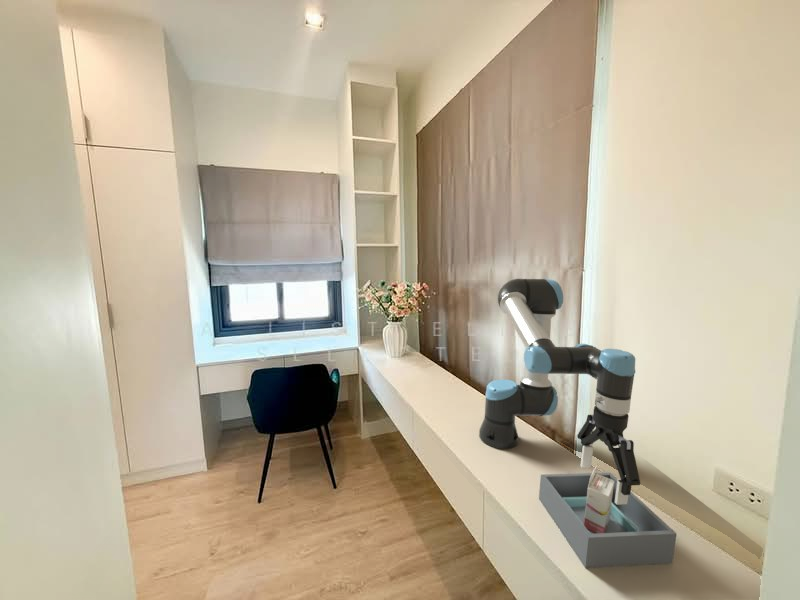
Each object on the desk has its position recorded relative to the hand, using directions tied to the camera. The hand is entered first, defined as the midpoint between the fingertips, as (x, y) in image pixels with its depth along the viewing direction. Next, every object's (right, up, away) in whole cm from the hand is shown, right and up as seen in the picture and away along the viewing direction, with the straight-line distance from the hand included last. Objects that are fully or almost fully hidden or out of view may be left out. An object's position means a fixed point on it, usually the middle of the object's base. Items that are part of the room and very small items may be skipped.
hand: (601, 483), depth 86 cm
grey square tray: (0, -13, +1) cm, 13 cm away
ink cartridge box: (0, -12, +2) cm, 12 cm away
